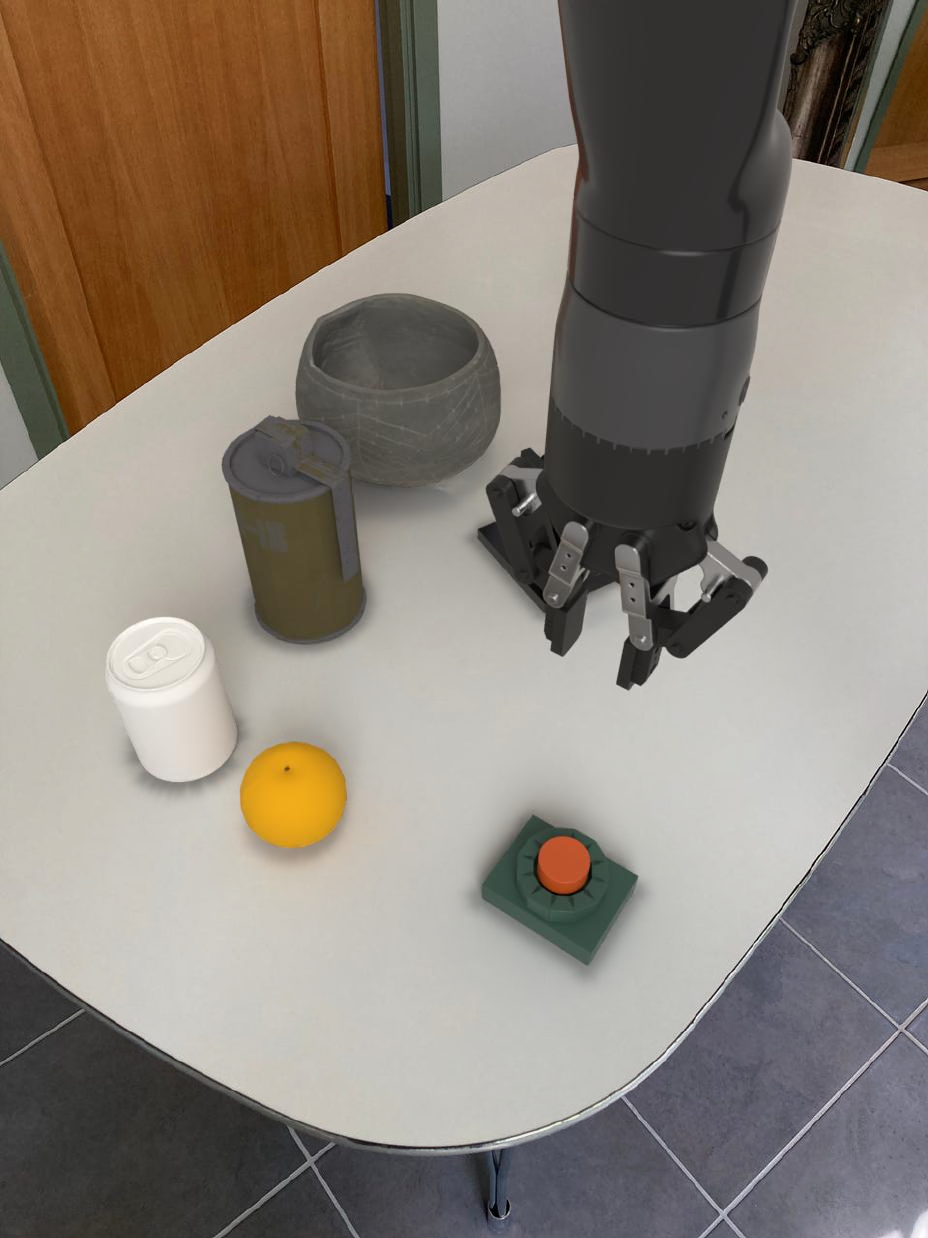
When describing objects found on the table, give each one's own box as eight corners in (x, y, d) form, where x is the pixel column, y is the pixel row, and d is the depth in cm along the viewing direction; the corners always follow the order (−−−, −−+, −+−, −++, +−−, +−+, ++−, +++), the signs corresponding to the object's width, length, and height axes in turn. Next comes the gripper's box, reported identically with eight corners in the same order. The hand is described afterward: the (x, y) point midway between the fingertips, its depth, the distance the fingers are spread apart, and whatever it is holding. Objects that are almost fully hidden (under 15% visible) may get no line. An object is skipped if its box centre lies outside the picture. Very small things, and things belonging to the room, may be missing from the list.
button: (596, 865, 68) (599, 853, 67) (571, 904, 66) (573, 892, 65) (553, 839, 70) (555, 827, 68) (527, 877, 68) (528, 865, 66)
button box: (634, 890, 71) (642, 864, 68) (588, 966, 67) (594, 942, 64) (531, 828, 74) (534, 801, 71) (481, 898, 70) (482, 872, 67)
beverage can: (258, 744, 79) (233, 652, 70) (176, 805, 75) (138, 715, 67) (201, 690, 83) (171, 595, 74) (120, 745, 79) (77, 652, 70)
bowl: (535, 482, 102) (544, 360, 91) (359, 551, 95) (346, 428, 84) (437, 384, 114) (436, 265, 103) (275, 438, 107) (254, 317, 96)
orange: (353, 773, 78) (345, 719, 72) (347, 862, 72) (338, 811, 67) (254, 775, 77) (238, 720, 72) (241, 864, 72) (223, 812, 67)
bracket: (621, 578, 93) (640, 475, 83) (544, 613, 89) (554, 510, 80) (550, 507, 99) (560, 404, 90) (477, 538, 96) (479, 434, 87)
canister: (231, 613, 89) (186, 440, 74) (305, 549, 95) (277, 377, 80) (320, 665, 85) (291, 493, 70) (392, 595, 91) (379, 422, 76)
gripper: (444, 369, 38) (448, 647, 51) (778, 502, 33) (689, 775, 46) (542, 290, 42) (522, 566, 55) (852, 397, 37) (751, 674, 50)
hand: (598, 660), depth 50 cm, fingers open, 3 cm apart
